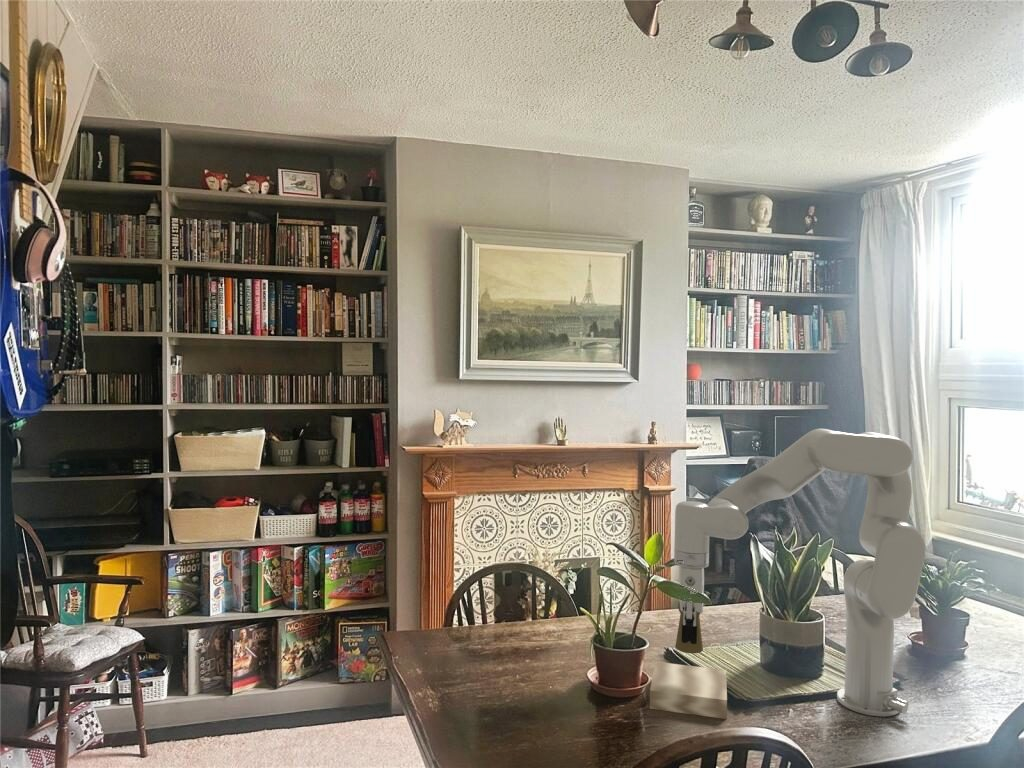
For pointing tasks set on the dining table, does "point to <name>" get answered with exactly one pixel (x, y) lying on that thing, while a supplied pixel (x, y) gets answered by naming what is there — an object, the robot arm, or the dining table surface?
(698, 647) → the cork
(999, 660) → the dining table surface
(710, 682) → the birch base
